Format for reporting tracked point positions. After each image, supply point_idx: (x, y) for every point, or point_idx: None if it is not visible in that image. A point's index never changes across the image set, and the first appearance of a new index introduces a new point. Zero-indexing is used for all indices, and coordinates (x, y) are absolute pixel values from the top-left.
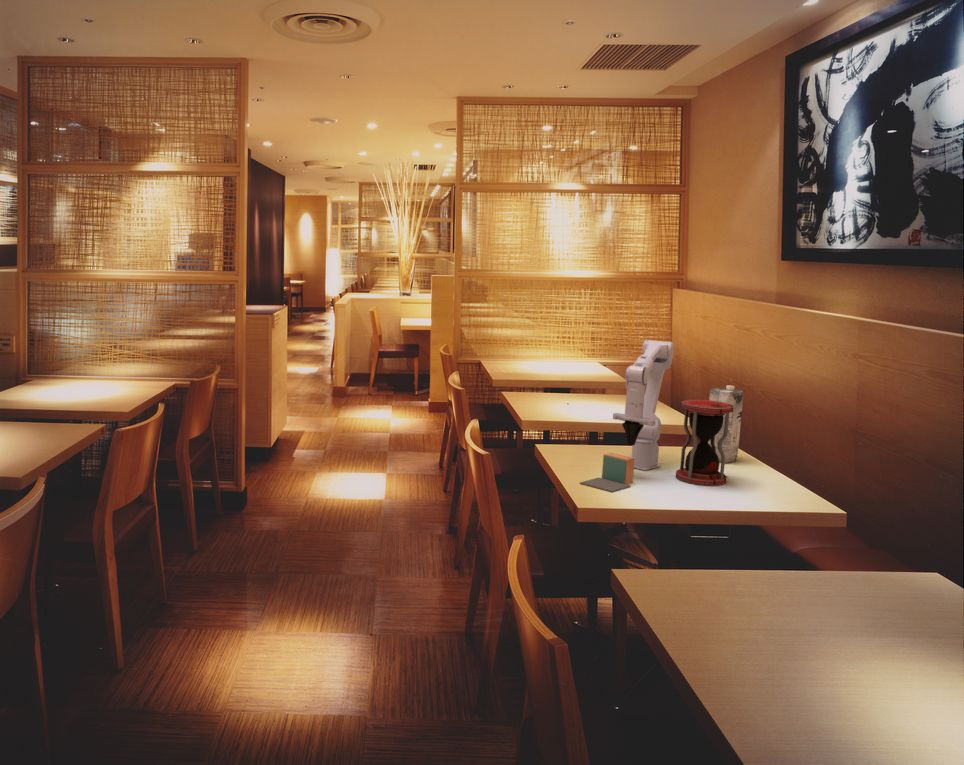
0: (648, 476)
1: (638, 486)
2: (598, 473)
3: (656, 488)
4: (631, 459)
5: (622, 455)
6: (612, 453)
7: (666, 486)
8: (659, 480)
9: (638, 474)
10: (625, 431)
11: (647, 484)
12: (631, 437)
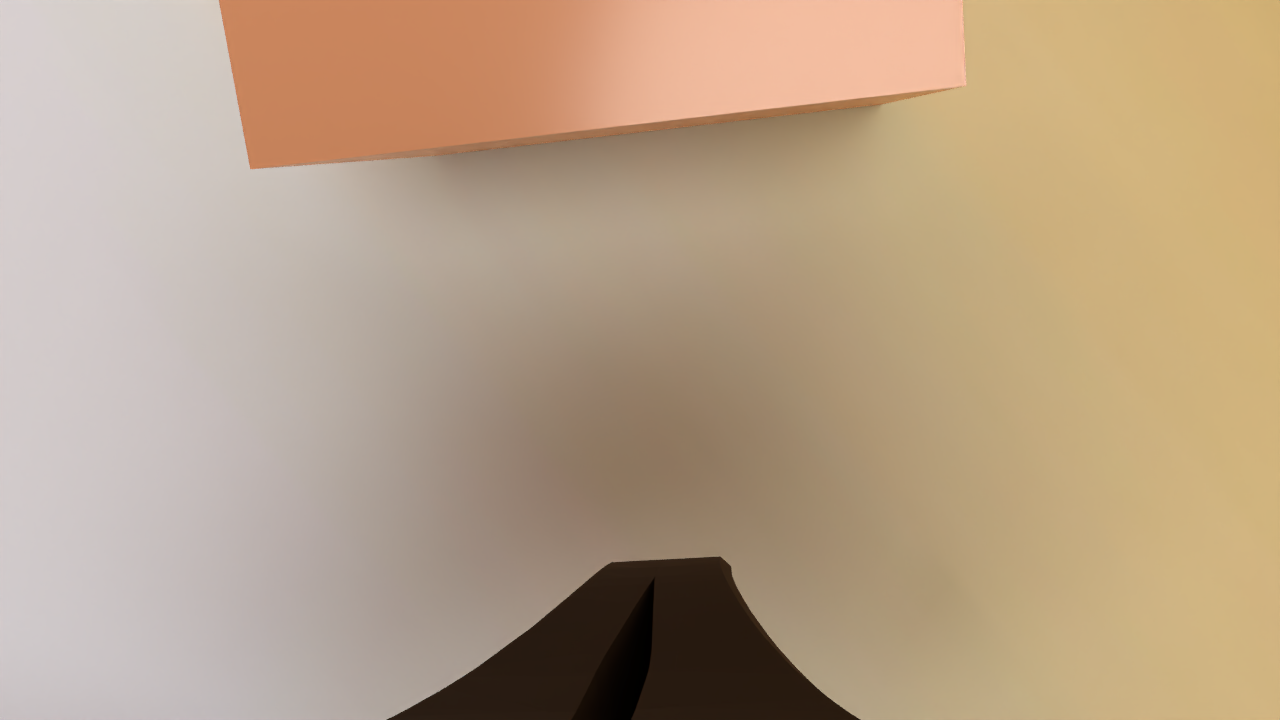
0: None
1: None
2: (1123, 103)
3: (60, 212)
4: (232, 31)
5: (580, 112)
6: (869, 44)
7: (77, 423)
8: (333, 597)
9: None
10: (818, 705)
11: (263, 274)
12: (531, 638)
